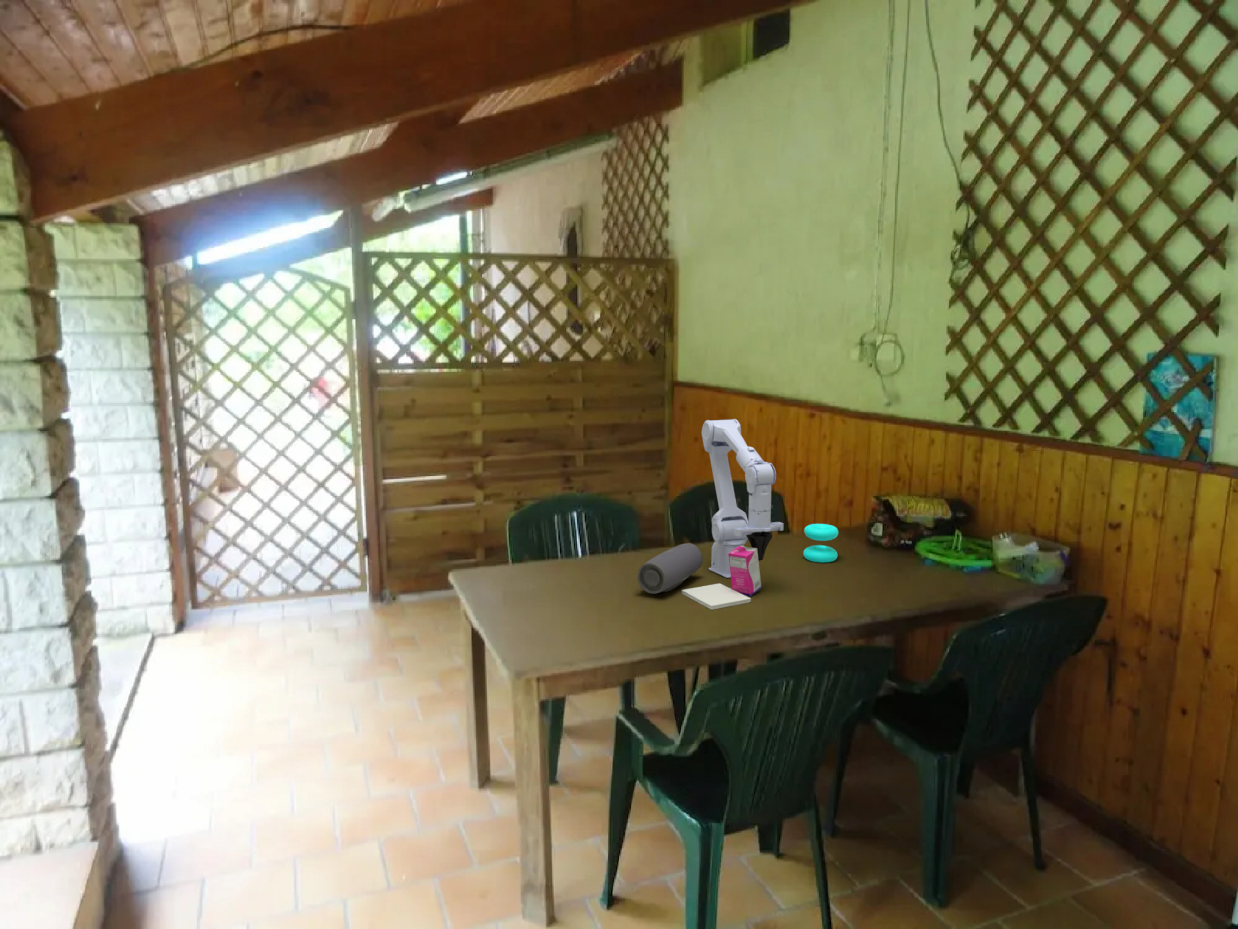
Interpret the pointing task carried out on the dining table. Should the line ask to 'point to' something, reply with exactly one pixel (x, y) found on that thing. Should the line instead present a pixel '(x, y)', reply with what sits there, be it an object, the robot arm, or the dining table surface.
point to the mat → (716, 596)
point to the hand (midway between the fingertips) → (758, 559)
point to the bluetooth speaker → (669, 568)
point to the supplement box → (745, 570)
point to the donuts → (820, 551)
